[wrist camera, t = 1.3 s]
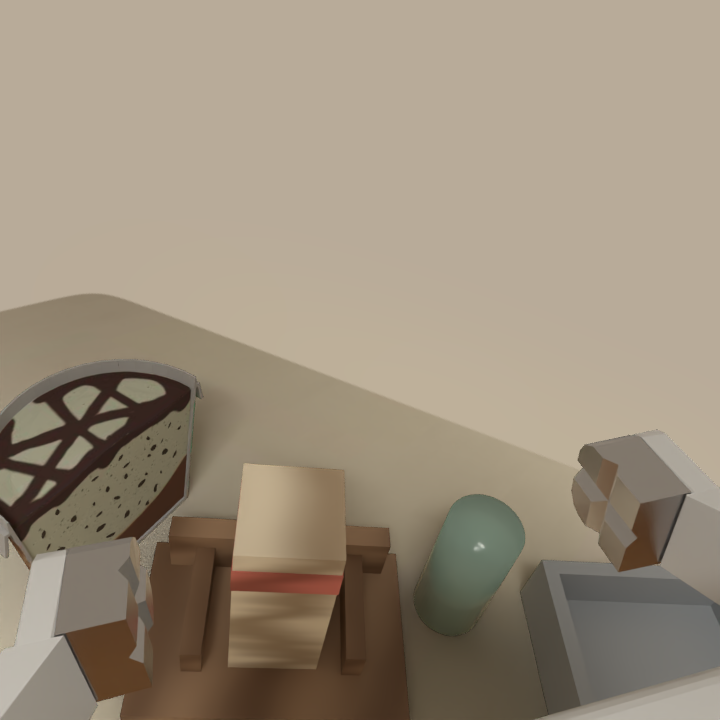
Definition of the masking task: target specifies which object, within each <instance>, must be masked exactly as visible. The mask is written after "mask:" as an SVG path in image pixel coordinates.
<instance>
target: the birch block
mask: <svg viewBox="0 0 720 720" xmlns="http://www.w3.org/2000/svg"><path fill="white" fill-rule="evenodd" d="M345 564H346V523H345V482H344V470H337V469H322V468H306V467H291V466H276V465H261V464H246V463H244V465H243V474H242V481H241V489H240V498H239V507H238V515H237V524H236V532H235V541H234V549H233V558H232V567H231V581H230V591H231V609H230V630H229V652H228V667H239V668H281V669H316V668H317V664H318V660H319V657H320V653H321V650H322V646H323V643H324V639H325V635H326V632H327V628H328V625H329V621H330V618H331V614H332V610H333V607H334V603H335V600H336V596H337V595H338V594H339V591H340V587H341V584H342V580H343V571H344V568H345Z"/></svg>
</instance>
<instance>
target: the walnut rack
mask: <svg viewBox="0 0 720 720" xmlns="http://www.w3.org/2000/svg"><path fill="white" fill-rule="evenodd" d="M236 524H237V520H231V519H213V518H195V517H176V516H173V517H172V522H171V527H170V532H169V543H165V542H157V546H156V550H155V555H154V560H153V564H152V569H151V574H150V578H149V579H150V584H151V589H152V597H153V608H154V624H153V626H152V627H151V628H150V630H149V631H148V635H149V638H150V641H151V644H152V647H153V679H152V687H150V688H146V689H143V690H139V691H135V692H132V693H128V694H125V695H124V700H123V705H122V709H121V714H120V718H121V720H410V715H409V704H408V692H407V680H406V669H405V657H404V645H403V634H402V622H401V610H400V599H399V587H398V575H397V564H396V554H388V552H389V550H390V535H389V528H378V527H359V526H346V564H345V568H344V571H343V580H342V584H341V587H340V591H339V594H338V595H337V596H336V600H335V603H334V607H333V610H332V614H331V618H330V621H329V625H328V628H327V632H326V635H325V639H324V643H323V646H322V650H321V653H320V657H319V660H318V664H317V668H316V669H281V668H239V667H228V652H229V630H230V609H231V591H230V581H231V567H232V558H233V549H234V541H235V532H236Z"/></svg>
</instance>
